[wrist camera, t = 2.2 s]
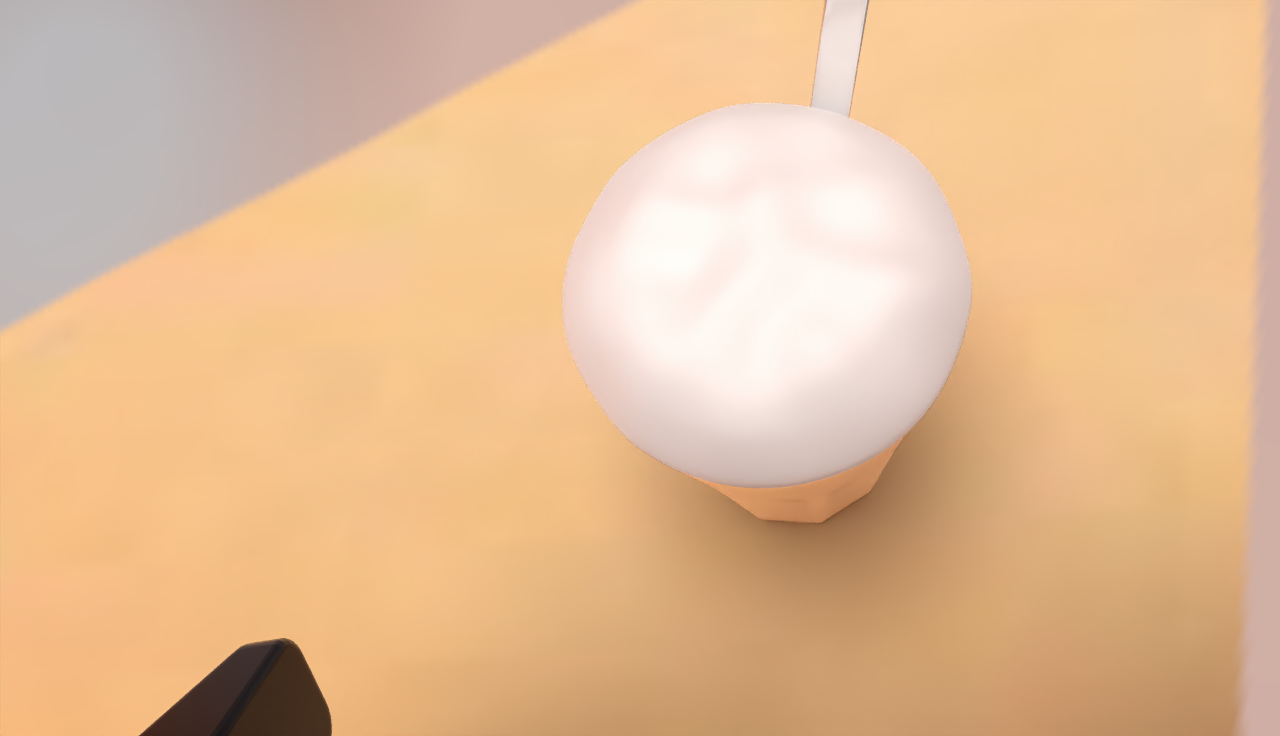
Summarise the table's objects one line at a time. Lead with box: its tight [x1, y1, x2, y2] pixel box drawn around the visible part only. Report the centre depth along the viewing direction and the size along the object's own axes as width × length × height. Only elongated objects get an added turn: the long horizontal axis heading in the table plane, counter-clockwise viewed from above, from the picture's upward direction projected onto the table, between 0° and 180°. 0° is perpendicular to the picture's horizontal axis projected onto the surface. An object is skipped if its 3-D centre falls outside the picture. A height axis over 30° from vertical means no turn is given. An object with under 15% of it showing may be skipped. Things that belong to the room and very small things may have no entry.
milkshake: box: [562, 0, 972, 523], centre depth 16 cm, size 4×5×10 cm
